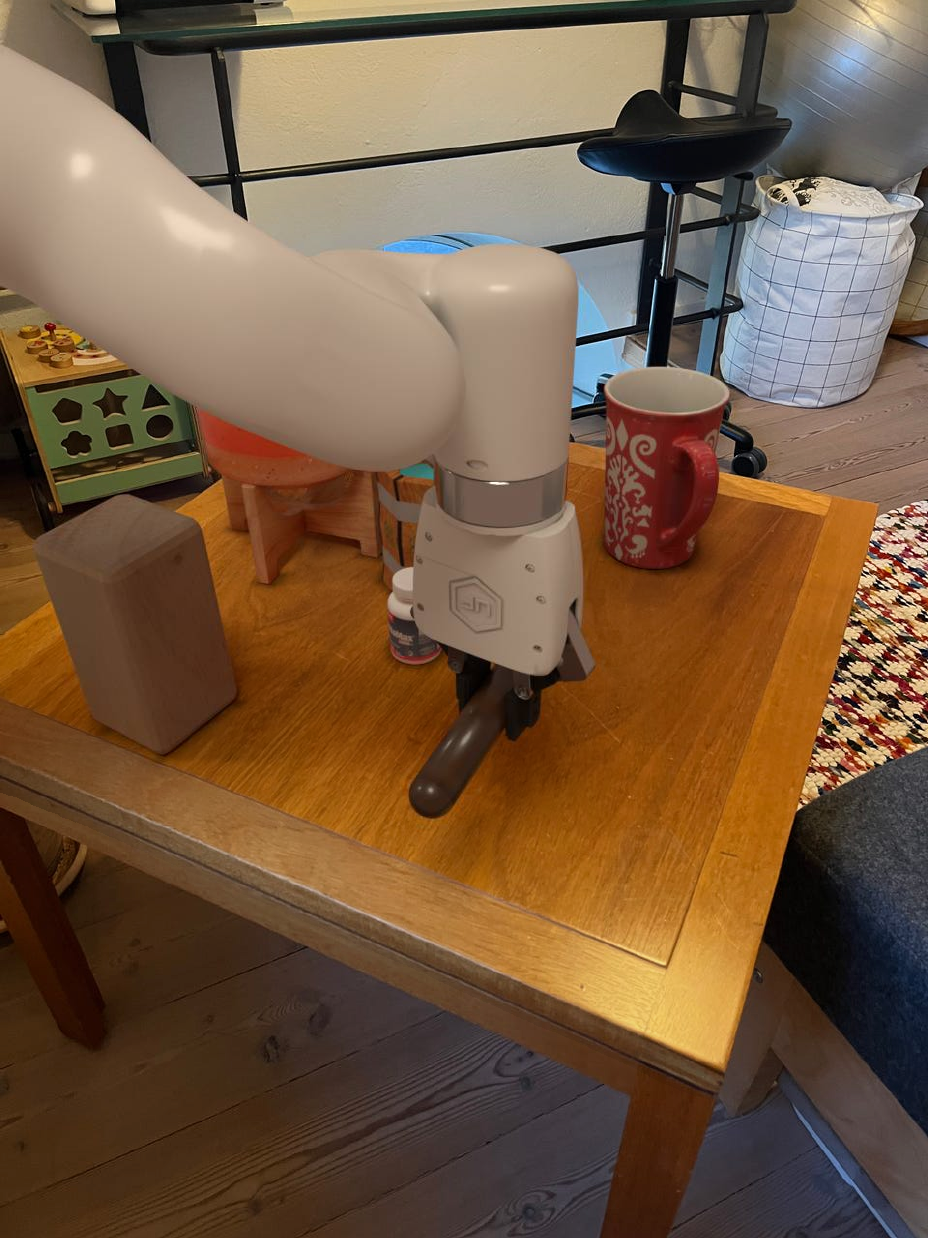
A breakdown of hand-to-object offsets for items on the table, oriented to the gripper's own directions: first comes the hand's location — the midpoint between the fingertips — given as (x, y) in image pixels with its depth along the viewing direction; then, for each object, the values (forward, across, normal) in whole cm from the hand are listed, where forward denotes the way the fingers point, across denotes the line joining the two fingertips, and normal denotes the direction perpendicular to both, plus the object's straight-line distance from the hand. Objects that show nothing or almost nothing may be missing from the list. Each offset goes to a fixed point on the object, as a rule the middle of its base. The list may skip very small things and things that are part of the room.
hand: (497, 716), depth 63 cm
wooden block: (+15, -35, -1) cm, 39 cm away
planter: (+15, -44, +29) cm, 55 cm away
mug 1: (+15, -23, +33) cm, 43 cm away
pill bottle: (+15, -20, +19) cm, 31 cm away
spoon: (0, 0, 0) cm, 0 cm away
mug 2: (+15, -6, +47) cm, 50 cm away
